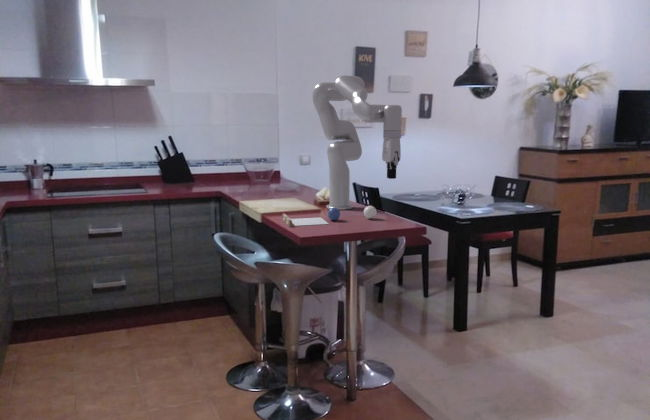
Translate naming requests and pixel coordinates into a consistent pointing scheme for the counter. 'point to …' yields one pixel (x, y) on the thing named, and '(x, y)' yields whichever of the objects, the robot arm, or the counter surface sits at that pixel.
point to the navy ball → (333, 214)
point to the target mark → (308, 221)
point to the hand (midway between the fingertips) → (391, 178)
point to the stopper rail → (287, 220)
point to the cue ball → (370, 212)
